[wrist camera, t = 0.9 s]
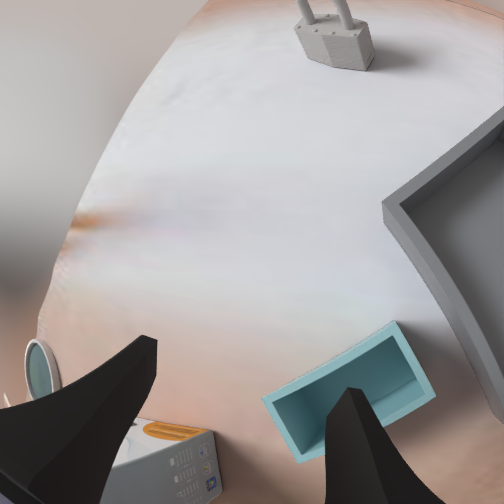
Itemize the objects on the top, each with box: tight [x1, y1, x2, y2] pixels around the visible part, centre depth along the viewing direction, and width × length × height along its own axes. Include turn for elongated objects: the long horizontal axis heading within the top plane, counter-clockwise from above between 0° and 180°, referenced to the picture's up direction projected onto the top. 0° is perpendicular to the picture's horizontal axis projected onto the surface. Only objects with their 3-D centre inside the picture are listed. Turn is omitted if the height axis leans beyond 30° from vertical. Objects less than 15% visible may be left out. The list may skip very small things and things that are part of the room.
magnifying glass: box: [25, 339, 60, 401], centre depth 34 cm, size 13×31×2 cm, turn 39°
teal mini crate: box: [261, 321, 436, 464], centre depth 17 cm, size 5×9×6 cm, turn 120°
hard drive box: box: [100, 417, 223, 504], centre depth 17 cm, size 16×8×20 cm, turn 97°
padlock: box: [294, 0, 375, 71], centre depth 22 cm, size 7×4×10 cm, turn 55°
